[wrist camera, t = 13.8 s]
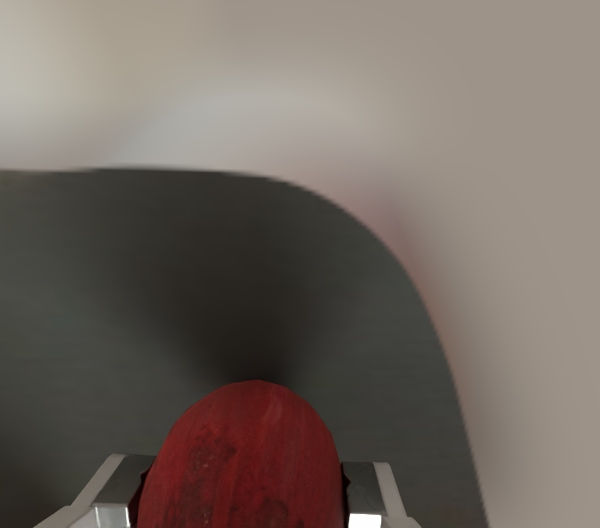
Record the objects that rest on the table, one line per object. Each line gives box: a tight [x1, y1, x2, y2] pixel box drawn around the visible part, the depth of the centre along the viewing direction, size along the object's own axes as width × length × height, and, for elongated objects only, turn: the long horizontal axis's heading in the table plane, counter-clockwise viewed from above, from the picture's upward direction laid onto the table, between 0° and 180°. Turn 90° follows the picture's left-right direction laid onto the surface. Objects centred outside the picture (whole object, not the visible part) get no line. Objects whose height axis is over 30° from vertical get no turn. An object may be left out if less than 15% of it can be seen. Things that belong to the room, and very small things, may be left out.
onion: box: [137, 379, 345, 528], centre depth 8 cm, size 6×6×8 cm
